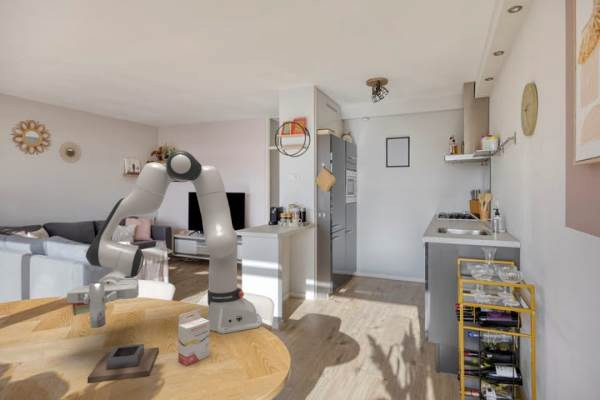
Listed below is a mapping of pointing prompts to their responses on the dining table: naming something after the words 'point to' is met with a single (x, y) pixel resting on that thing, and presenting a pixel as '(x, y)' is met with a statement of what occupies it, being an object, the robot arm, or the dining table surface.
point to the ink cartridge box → (192, 337)
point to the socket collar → (125, 356)
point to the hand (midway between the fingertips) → (96, 300)
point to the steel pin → (97, 304)
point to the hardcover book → (81, 308)
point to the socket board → (123, 373)
